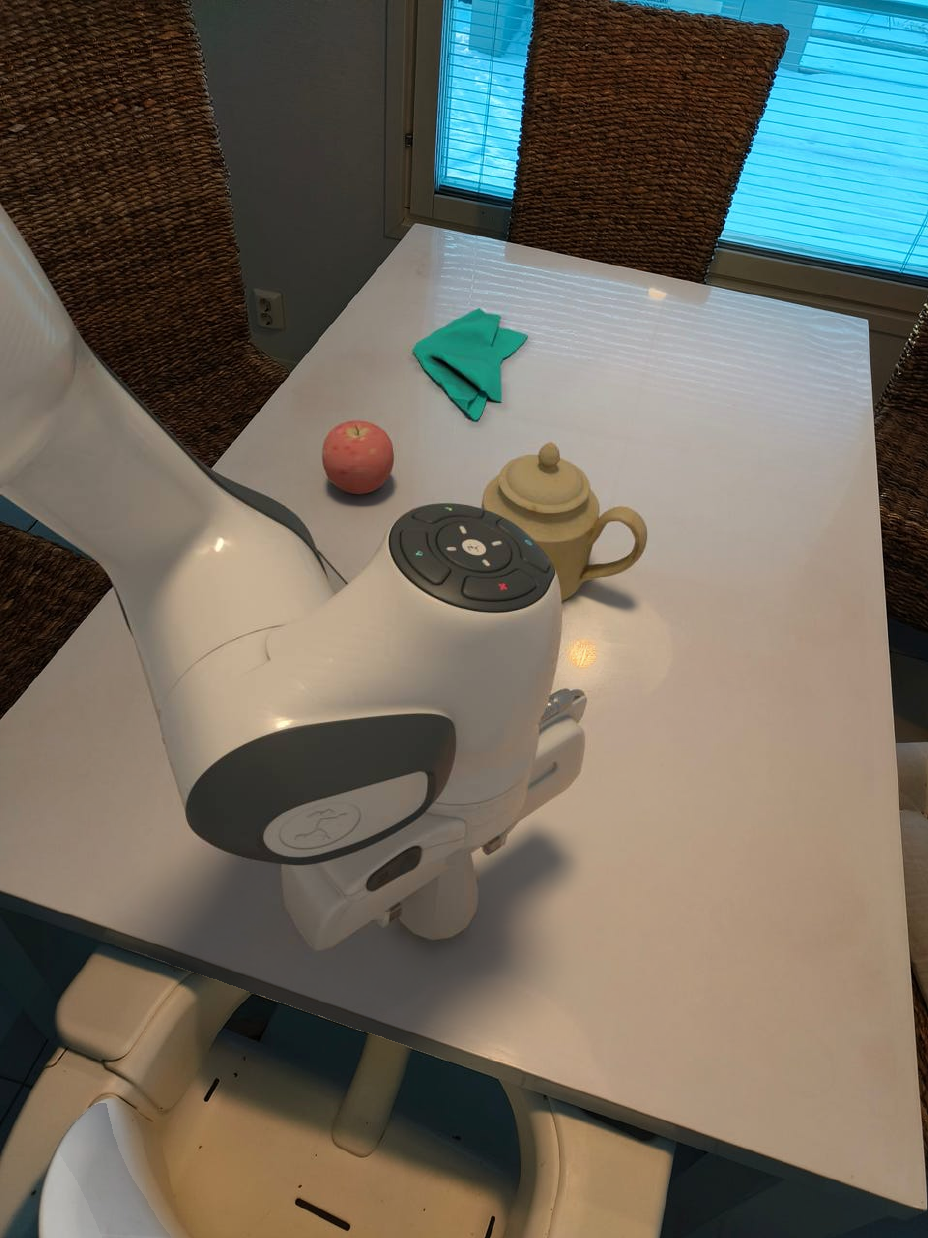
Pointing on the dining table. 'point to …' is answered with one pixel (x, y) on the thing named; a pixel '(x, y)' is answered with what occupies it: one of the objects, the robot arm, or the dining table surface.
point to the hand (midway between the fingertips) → (438, 876)
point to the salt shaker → (444, 900)
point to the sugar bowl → (560, 515)
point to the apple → (357, 456)
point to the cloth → (469, 358)
